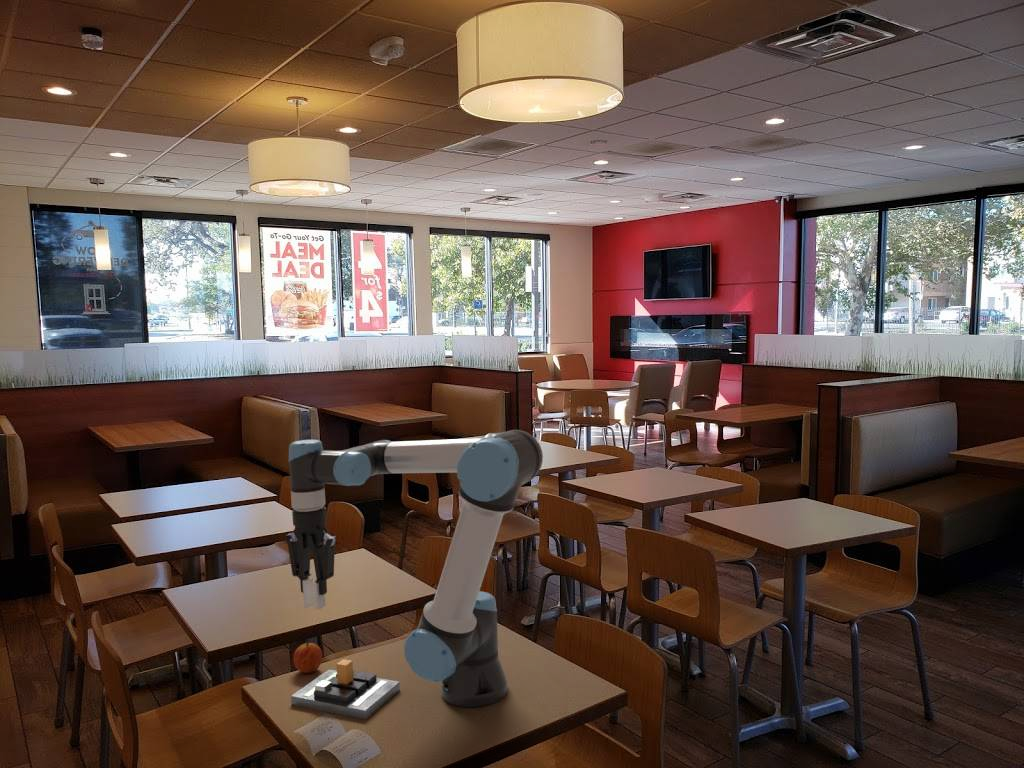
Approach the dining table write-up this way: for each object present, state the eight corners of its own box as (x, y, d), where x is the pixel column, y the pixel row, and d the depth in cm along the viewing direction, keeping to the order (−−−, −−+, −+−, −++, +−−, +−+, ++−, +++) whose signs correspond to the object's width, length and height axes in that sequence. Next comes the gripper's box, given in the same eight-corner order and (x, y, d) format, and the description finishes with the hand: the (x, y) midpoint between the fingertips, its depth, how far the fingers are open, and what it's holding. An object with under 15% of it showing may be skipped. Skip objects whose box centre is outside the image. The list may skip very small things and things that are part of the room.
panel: (399, 689, 175) (398, 670, 175) (365, 719, 163) (364, 698, 162) (329, 677, 183) (328, 658, 183) (291, 704, 171) (290, 684, 170)
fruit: (294, 667, 190) (293, 636, 189) (323, 663, 191) (321, 633, 191) (293, 679, 183) (291, 647, 182) (322, 675, 184) (321, 644, 184)
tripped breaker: (353, 679, 173) (352, 660, 173) (346, 684, 171) (345, 665, 171) (344, 677, 174) (343, 659, 174) (337, 682, 172) (336, 663, 172)
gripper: (346, 505, 173) (352, 605, 175) (292, 501, 179) (298, 597, 181) (326, 513, 166) (332, 616, 168) (270, 509, 172) (277, 609, 174)
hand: (314, 606), depth 174 cm, fingers open, 3 cm apart
